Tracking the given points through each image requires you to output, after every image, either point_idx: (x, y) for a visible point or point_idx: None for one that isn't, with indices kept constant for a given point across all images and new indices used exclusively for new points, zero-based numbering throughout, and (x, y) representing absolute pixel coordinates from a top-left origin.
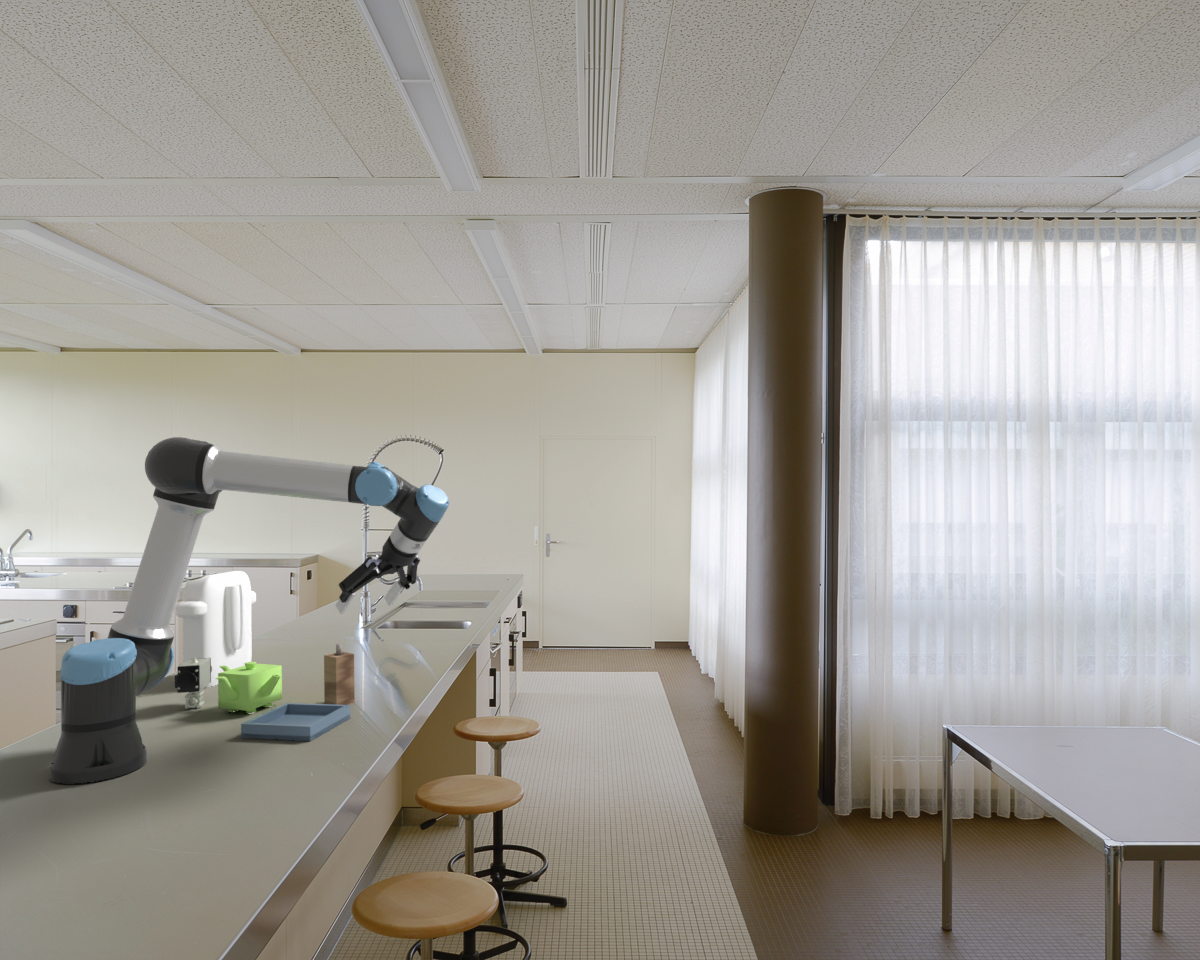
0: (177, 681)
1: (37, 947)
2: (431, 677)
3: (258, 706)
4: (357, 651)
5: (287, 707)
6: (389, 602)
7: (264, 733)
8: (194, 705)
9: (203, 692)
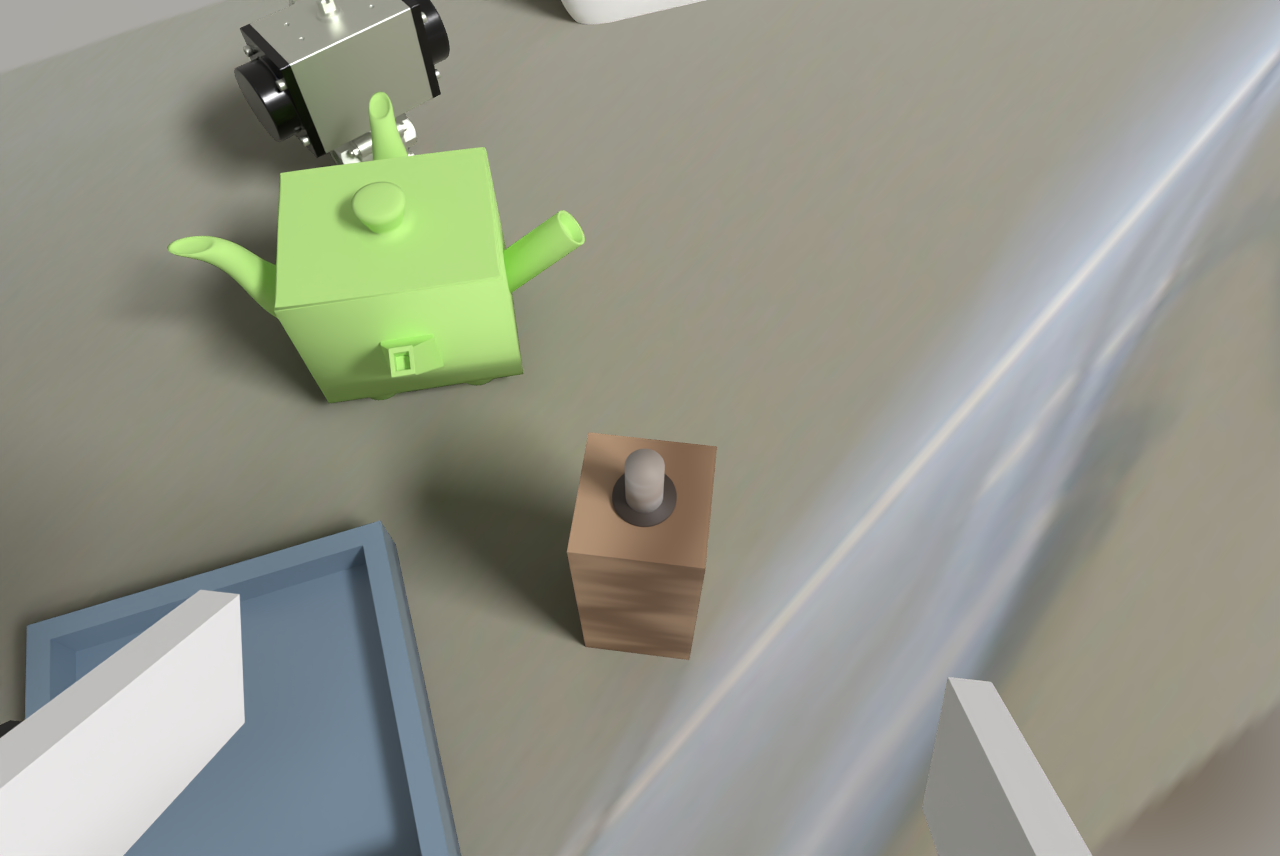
0: (242, 91)
1: None
2: (1271, 652)
3: (383, 393)
4: (1260, 29)
5: (362, 552)
6: (936, 809)
7: None
8: None
9: None
